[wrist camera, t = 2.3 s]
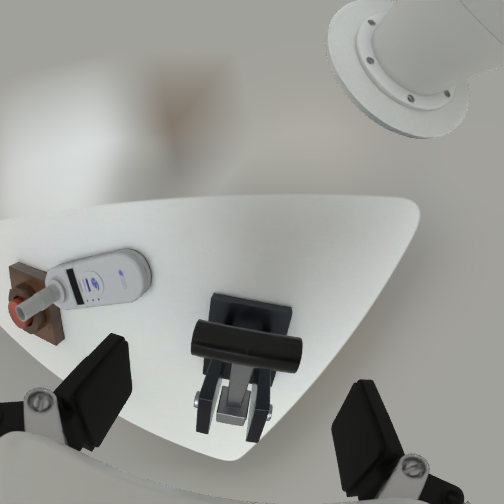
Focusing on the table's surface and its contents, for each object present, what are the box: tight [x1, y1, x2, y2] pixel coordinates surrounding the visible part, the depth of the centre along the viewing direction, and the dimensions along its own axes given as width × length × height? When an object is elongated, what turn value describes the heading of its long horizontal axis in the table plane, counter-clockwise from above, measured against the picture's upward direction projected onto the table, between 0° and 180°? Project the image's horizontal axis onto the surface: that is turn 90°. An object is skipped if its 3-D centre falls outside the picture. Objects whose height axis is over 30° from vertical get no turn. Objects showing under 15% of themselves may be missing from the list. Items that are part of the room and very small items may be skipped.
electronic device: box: [16, 249, 151, 322], centre depth 24 cm, size 5×10×15 cm
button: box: [8, 297, 33, 329], centre depth 26 cm, size 4×4×2 cm
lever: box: [191, 319, 303, 426], centre depth 16 cm, size 12×5×2 cm, turn 170°
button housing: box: [9, 262, 64, 346], centre depth 28 cm, size 10×9×4 cm
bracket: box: [194, 293, 292, 443], centre depth 23 cm, size 10×8×12 cm
